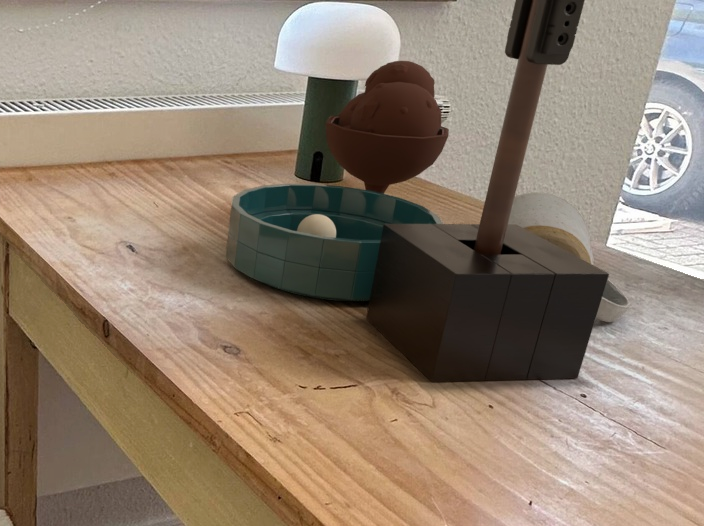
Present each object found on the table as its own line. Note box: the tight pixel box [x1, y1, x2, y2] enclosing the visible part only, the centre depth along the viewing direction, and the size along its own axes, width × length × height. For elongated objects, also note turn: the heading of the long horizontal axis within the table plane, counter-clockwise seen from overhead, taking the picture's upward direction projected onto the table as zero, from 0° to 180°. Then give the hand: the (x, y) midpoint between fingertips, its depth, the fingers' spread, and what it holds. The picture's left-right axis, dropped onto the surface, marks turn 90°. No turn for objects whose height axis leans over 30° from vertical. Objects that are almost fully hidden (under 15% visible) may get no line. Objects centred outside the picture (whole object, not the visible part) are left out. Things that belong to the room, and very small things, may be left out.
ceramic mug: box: [508, 192, 630, 323], centre depth 65 cm, size 11×8×8 cm
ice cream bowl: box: [325, 60, 450, 194], centre depth 80 cm, size 11×11×15 cm
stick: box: [474, 0, 548, 255], centre depth 53 cm, size 2×2×18 cm
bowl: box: [225, 183, 444, 302], centre depth 70 cm, size 16×16×5 cm
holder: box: [365, 223, 610, 383], centre depth 57 cm, size 10×10×7 cm
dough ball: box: [297, 214, 336, 238], centre depth 73 cm, size 3×3×3 cm
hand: (534, 59), depth 51 cm, fingers closed on stick, 1 cm apart
